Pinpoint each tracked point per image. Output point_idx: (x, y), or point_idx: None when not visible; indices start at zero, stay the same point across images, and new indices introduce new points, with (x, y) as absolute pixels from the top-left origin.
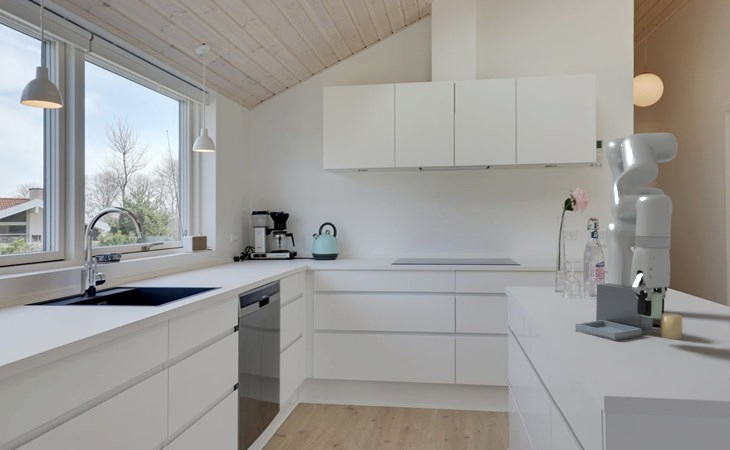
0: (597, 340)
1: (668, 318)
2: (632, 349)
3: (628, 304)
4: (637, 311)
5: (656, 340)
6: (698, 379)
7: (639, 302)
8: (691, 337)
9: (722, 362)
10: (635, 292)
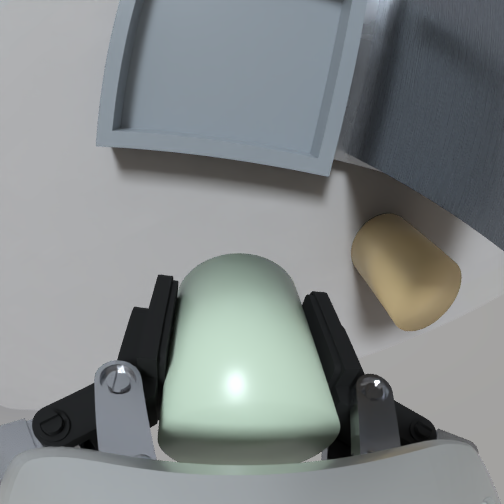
0: (58, 97)
1: (389, 296)
2: (61, 243)
3: (443, 108)
4: (156, 281)
5: (285, 235)
6: (28, 389)
7: (120, 353)
8: None
9: None
10: (35, 417)
